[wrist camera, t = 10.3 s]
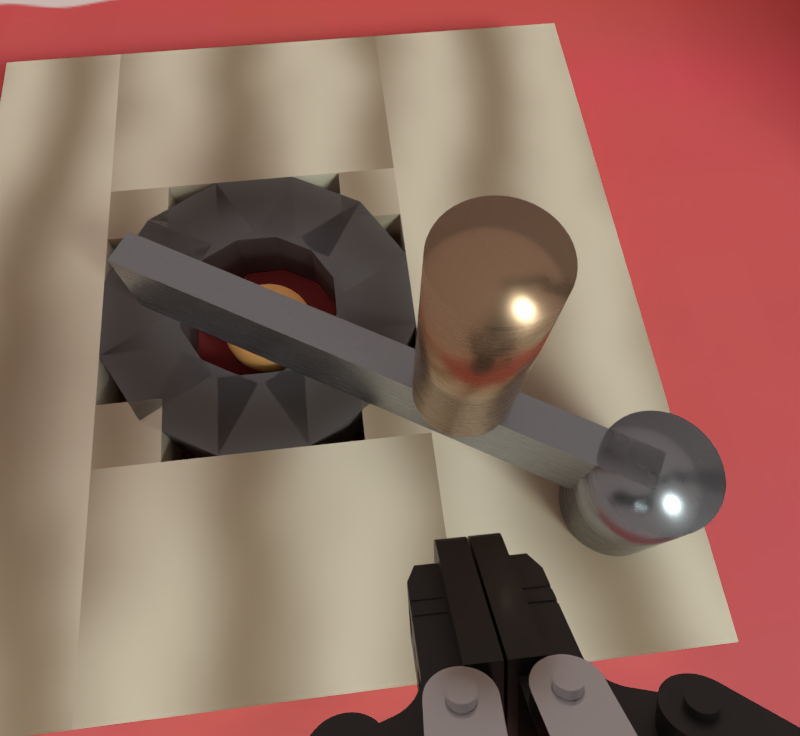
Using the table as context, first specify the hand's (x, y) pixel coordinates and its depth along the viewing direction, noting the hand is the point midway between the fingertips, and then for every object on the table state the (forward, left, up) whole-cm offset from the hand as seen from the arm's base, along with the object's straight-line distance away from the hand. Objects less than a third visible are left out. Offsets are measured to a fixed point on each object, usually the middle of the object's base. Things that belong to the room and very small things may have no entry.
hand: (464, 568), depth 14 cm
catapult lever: (+1, -6, -7) cm, 10 cm away
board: (+4, -11, -10) cm, 15 cm away
